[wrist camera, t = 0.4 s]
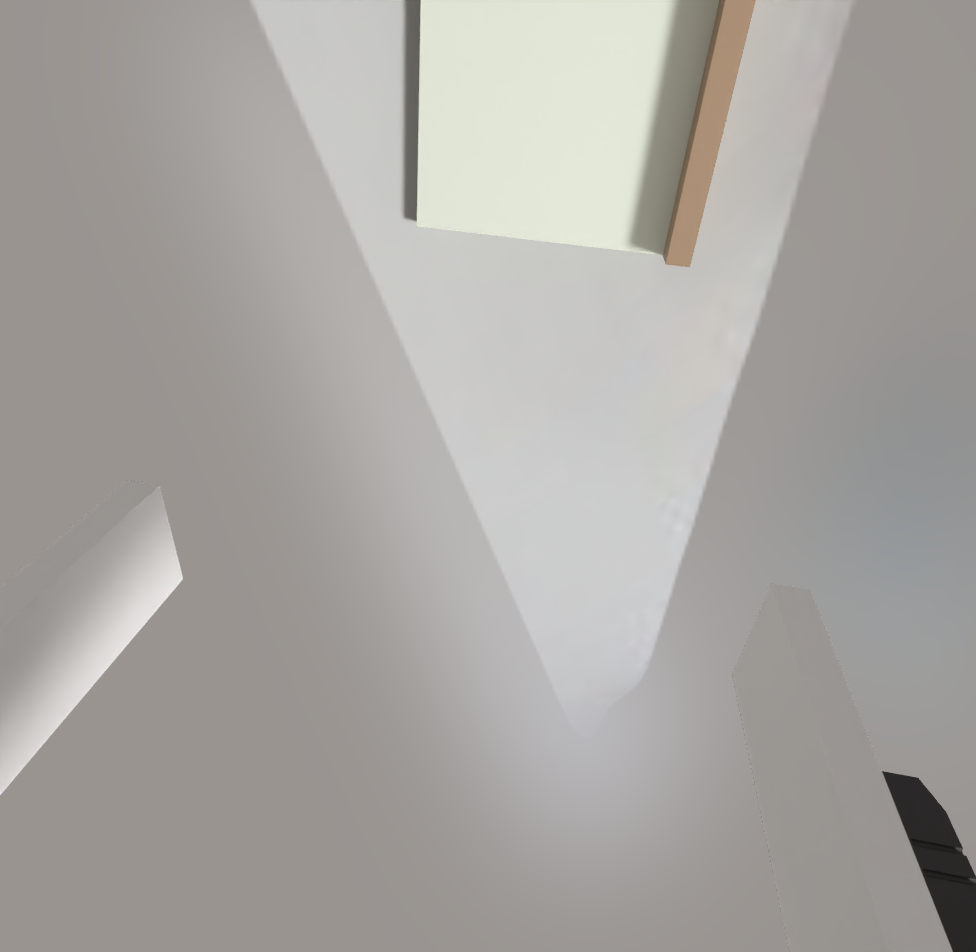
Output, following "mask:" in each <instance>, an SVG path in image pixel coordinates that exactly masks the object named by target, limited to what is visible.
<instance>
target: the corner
mask: <svg viewBox="0 0 976 952" xmlns="http://www.w3.org/2000/svg"><path fill="white" fill-rule="evenodd" d="M754 4H755V0H421V8H420V66H419V124H418V182H417V226H419V227H428V228H436V229H445V230H453V231H462V232H470V233H479V234H487V235H496V236H504V237H513V238H521V239H530V240H538V241H547V242H555V243H563V244H572V245H580V246H589V247H597V248H606V249H614V250H623V251H631V252H640V253H648V254H657V255H663V257H664V260H665V263H666V264H668V265H677V266H685V267H690V264H691V260H692V256H693V252H694V248H695V244H696V240H697V236H698V232H699V227H700V223H701V219H702V215H703V211H704V207H705V203H706V199H707V195H708V191H709V187H710V183H711V179H712V175H713V171H714V167H715V163H716V159H717V154H718V150H719V146H720V142H721V138H722V134H723V130H724V126H725V122H726V118H727V114H728V110H729V106H730V102H731V98H732V94H733V90H734V86H735V81H736V77H737V73H738V69H739V65H740V61H741V57H742V53H743V49H744V45H745V41H746V37H747V33H748V29H749V25H750V21H751V17H752V13H753V8H754Z"/></svg>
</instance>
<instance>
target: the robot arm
mask: <svg viewBox="0 0 976 952" xmlns="http://www.w3.org/2000/svg"><path fill="white" fill-rule="evenodd" d="M182 579H183V577H182V573H181V569H180V565H179V561H178V557H177V553H176V549H175V545H174V541H173V537H172V534H171V529H170V525H169V521H168V518H167V513H166V509H165V505H164V502H163V498H162V494H161V490H160V486H159V485H154V484H148V483H142V482H135V481H129V480H127V481H125V482H124V483H123V484H122V485H121V486H119V487H118V488H117V489H116V490H115V491H113V492H112V493H111V494H110V495H109V496H108V497H106V498H105V499H104V500H103V501H102V502H100V503H99V504H98V505H97V506H96V507H95V508H93V509H92V510H91V511H90V512H88V513H87V514H86V515H85V516H84V517H83V518H81V519H80V520H79V521H78V522H77V523H75V524H74V525H73V526H72V527H71V528H70V529H68V530H67V531H66V532H65V533H63V534H62V535H61V536H60V537H59V538H58V539H56V540H55V541H54V542H53V543H52V544H50V545H49V546H48V547H47V548H46V549H44V550H43V551H42V552H41V553H40V554H38V555H37V556H36V557H35V558H34V559H33V560H31V561H30V562H29V563H28V564H27V565H25V566H24V567H23V568H22V569H21V570H19V571H18V572H17V573H16V574H15V575H13V576H12V577H11V578H10V579H9V580H8V581H6V582H5V583H4V584H3V585H2V586H1V587H0V795H1V794H2V792H3V791H4V790H5V789H6V788H7V786H8V785H9V784H10V783H11V782H12V781H13V779H14V778H15V777H16V776H17V775H18V773H19V772H20V771H21V770H22V768H23V767H24V766H25V765H26V764H27V763H28V762H29V760H30V759H31V758H32V757H33V756H34V754H35V753H36V752H37V751H38V750H39V749H40V747H41V746H42V745H43V744H44V743H45V741H46V740H47V739H48V738H49V737H50V736H51V734H52V733H53V732H54V731H55V730H56V728H57V727H58V726H59V725H60V724H61V723H62V721H63V720H64V719H65V718H66V717H67V715H68V714H69V713H70V712H71V711H72V710H73V708H74V707H75V706H76V705H77V703H78V702H79V701H80V700H81V699H82V698H83V696H84V695H85V694H86V693H87V692H88V691H89V689H90V688H91V687H92V686H93V685H94V683H95V682H96V681H97V680H98V679H99V678H100V676H101V675H102V674H103V673H104V672H105V670H106V669H107V668H108V667H109V665H111V663H112V662H113V661H114V660H115V659H116V657H117V656H118V655H119V654H120V653H121V652H122V650H123V649H124V648H125V647H126V646H127V644H128V643H129V642H130V641H131V640H132V638H133V637H134V636H135V635H136V634H137V633H138V631H139V630H140V629H141V628H142V627H143V626H144V624H145V623H146V622H147V621H148V620H149V618H150V617H151V616H152V615H153V614H154V613H155V611H156V610H157V609H158V608H159V607H160V605H161V604H162V603H163V602H164V601H165V600H166V598H167V597H168V596H169V595H170V594H171V592H172V591H173V590H174V589H175V588H176V586H177V585H178V584H179V583H180V582H181V581H182ZM732 677H733V682H734V687H735V692H736V697H737V702H738V706H739V711H740V716H741V721H742V725H743V730H744V736H745V740H746V745H747V750H748V755H749V760H750V765H751V769H752V774H753V779H754V784H755V789H756V794H757V799H758V803H759V808H760V813H761V818H762V823H763V827H764V832H765V837H766V842H767V847H768V852H769V857H770V861H771V866H772V871H773V875H774V880H775V886H776V891H777V895H778V900H779V905H780V910H781V915H782V920H783V925H784V929H785V934H786V939H787V944H788V949H789V952H976V876H975V874H974V872H973V870H972V867H971V866H970V863H969V861H968V859H967V857H966V856H964V855H963V853H962V849H963V848H962V846H961V843H960V841H959V839H958V837H957V835H956V833H955V830H954V828H953V826H952V824H951V822H950V819H949V817H948V815H947V813H946V811H945V810H944V809H943V808H942V806H941V805H940V804H939V803H938V802H937V800H936V799H935V798H934V797H933V795H932V794H931V793H930V792H929V791H928V789H927V788H926V787H925V786H924V785H923V783H922V782H921V781H920V780H919V778H916V777H910V776H905V775H899V774H894V773H889V772H883V771H881V768H880V765H879V763H878V760H877V758H876V755H875V753H874V750H873V748H872V745H871V742H870V740H869V737H868V735H867V732H866V730H865V727H864V725H863V722H862V720H861V717H860V714H859V712H858V709H857V707H856V705H855V702H854V699H853V697H852V694H851V692H850V689H849V687H848V684H847V682H846V679H845V676H844V674H843V671H842V669H841V666H840V664H839V661H838V659H837V656H836V653H835V651H834V649H833V646H832V643H831V641H830V638H829V636H828V633H827V631H826V628H825V625H824V623H823V620H822V618H821V615H820V613H819V610H818V608H817V605H816V603H815V600H814V598H813V595H812V593H811V590H809V589H802V588H796V587H790V586H783V585H778V584H771V585H770V587H769V590H768V592H767V594H766V596H765V599H764V601H763V603H762V606H761V608H760V610H759V613H758V615H757V618H756V620H755V622H754V624H753V627H752V629H751V631H750V634H749V636H748V638H747V641H746V643H745V645H744V648H743V650H742V652H741V655H740V657H739V659H738V662H737V664H736V666H735V668H734V671H733V673H732Z"/></svg>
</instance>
